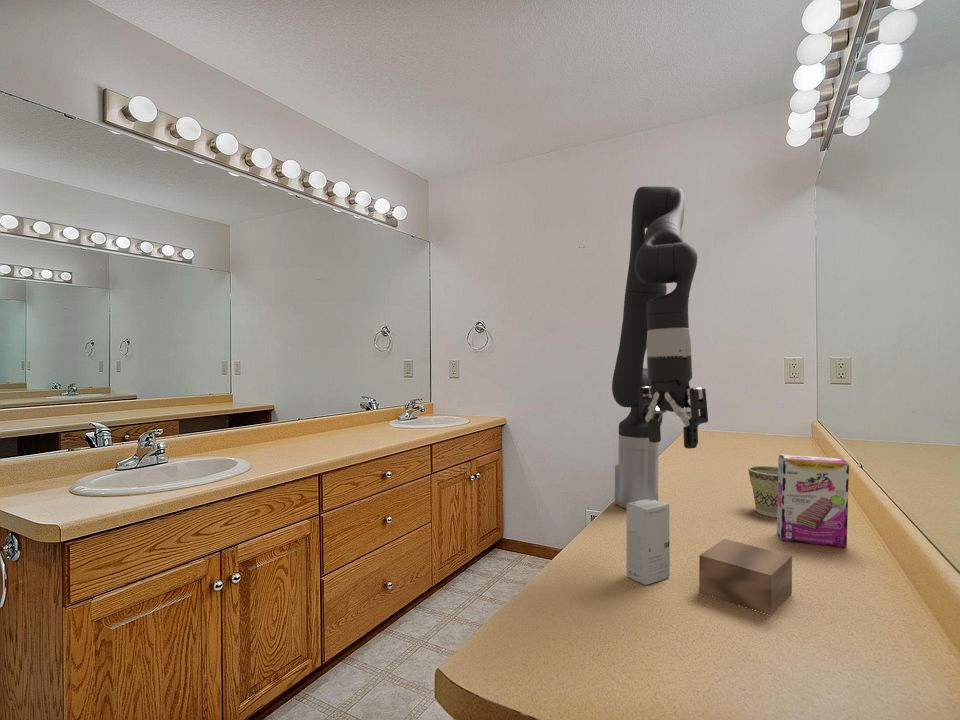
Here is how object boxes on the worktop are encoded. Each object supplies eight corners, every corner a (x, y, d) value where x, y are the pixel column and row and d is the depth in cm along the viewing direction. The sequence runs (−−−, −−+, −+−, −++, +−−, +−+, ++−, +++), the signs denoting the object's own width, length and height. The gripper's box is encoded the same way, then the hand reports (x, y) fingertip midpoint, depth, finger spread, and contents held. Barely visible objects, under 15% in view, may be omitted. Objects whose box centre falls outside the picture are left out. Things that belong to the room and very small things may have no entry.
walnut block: (699, 593, 79) (699, 555, 79) (724, 574, 86) (724, 538, 86) (770, 618, 71) (771, 575, 71) (791, 594, 78) (792, 555, 78)
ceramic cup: (750, 517, 115) (750, 473, 115) (745, 505, 125) (746, 464, 124) (818, 524, 110) (818, 478, 110) (808, 511, 120) (808, 468, 120)
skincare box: (646, 586, 81) (647, 509, 80) (624, 576, 84) (624, 503, 84) (671, 577, 84) (671, 503, 84) (648, 567, 88) (649, 497, 88)
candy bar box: (781, 541, 100) (782, 458, 100) (776, 533, 105) (776, 453, 105) (849, 549, 96) (850, 462, 96) (840, 539, 101) (841, 457, 101)
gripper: (625, 356, 97) (628, 442, 97) (683, 353, 84) (687, 452, 83) (656, 356, 100) (659, 439, 100) (716, 352, 87) (720, 448, 87)
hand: (672, 445), depth 92 cm, fingers open, 8 cm apart
